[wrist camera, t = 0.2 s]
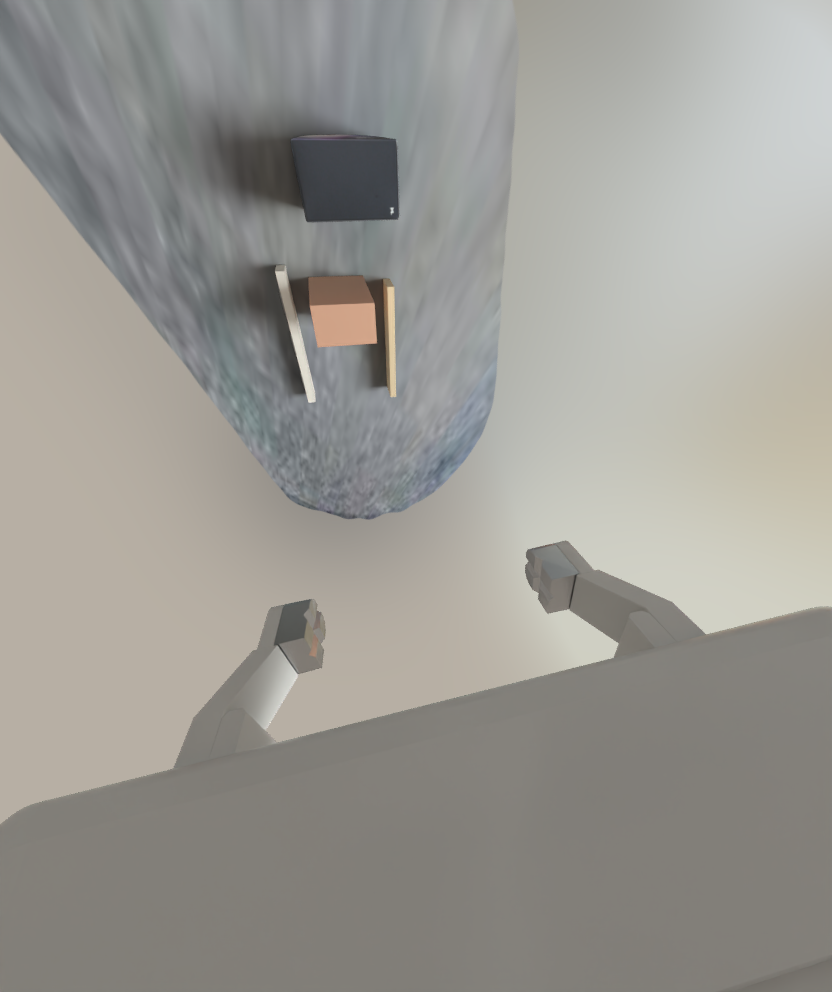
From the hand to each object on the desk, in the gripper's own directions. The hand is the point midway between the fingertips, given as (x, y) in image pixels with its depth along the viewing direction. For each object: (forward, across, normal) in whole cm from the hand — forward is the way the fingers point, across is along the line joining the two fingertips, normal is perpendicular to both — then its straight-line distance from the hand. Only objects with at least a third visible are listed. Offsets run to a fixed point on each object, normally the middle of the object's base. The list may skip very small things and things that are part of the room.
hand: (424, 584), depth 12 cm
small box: (+47, -1, -23) cm, 52 cm away
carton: (+50, +3, -11) cm, 52 cm away
